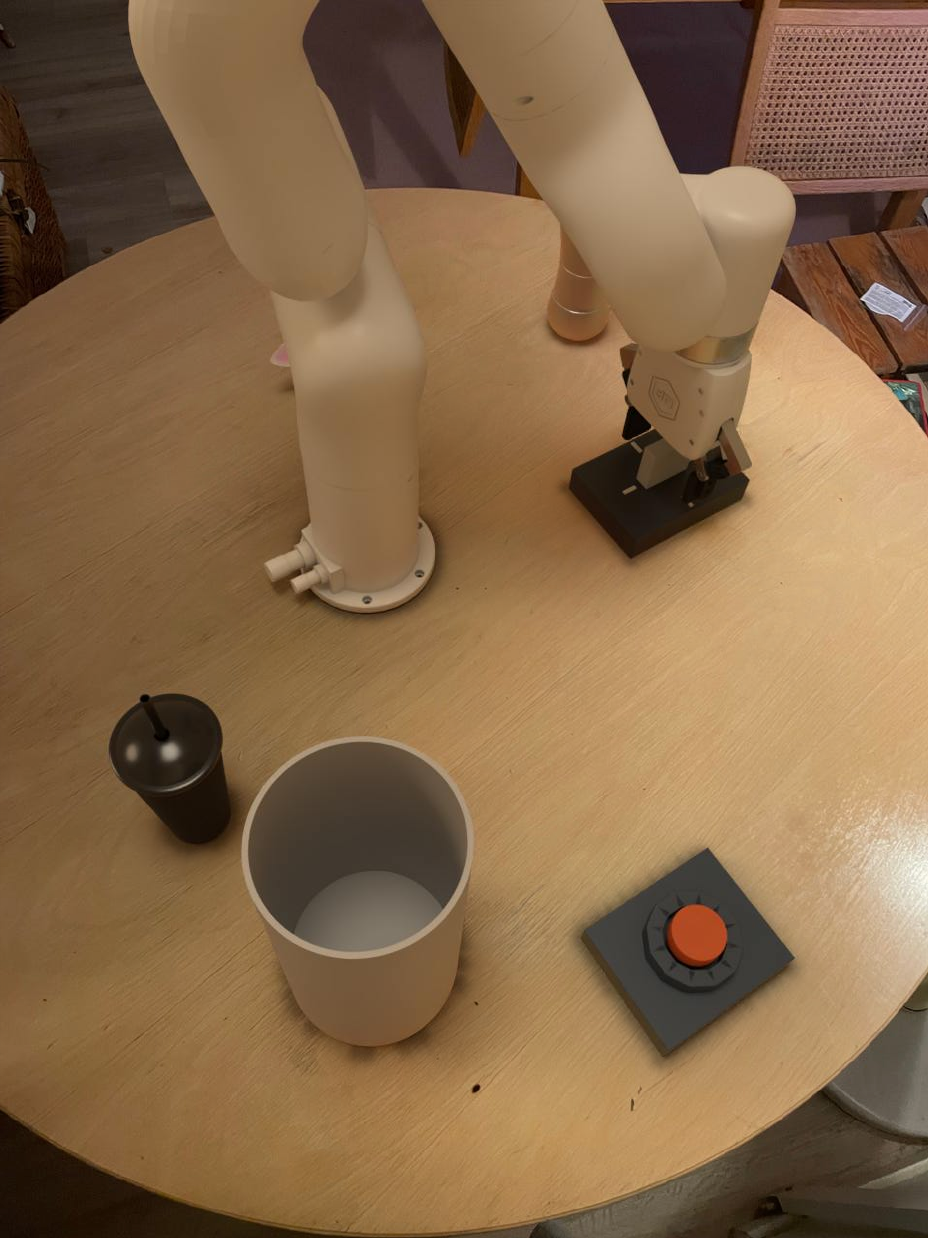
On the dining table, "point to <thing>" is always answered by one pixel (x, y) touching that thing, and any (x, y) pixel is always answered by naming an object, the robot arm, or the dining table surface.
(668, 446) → the temp dial
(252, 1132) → the dining table surface
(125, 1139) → the dining table surface
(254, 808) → the cylinder vase
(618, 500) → the panel
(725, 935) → the button
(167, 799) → the drinking cup
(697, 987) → the switch block
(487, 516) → the dining table surface
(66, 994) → the dining table surface
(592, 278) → the plastic bottle
